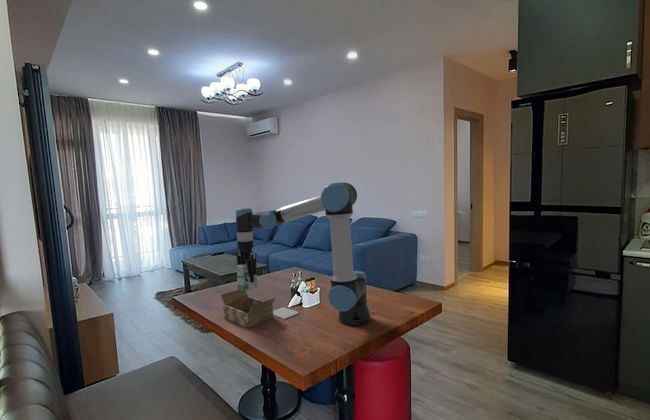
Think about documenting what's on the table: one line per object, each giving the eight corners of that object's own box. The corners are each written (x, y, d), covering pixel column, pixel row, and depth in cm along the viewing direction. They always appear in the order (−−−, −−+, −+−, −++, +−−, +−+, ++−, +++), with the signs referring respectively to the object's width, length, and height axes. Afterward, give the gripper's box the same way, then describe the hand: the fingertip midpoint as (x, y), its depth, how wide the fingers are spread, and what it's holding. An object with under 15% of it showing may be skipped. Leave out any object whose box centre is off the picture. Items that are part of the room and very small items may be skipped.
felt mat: (299, 313, 170) (299, 312, 170) (284, 319, 162) (284, 318, 162) (283, 308, 178) (283, 307, 178) (268, 313, 170) (268, 312, 170)
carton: (277, 319, 164) (276, 297, 163) (251, 329, 152) (250, 306, 151) (246, 307, 180) (245, 287, 179) (220, 316, 169) (219, 295, 168)
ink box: (243, 291, 160) (241, 266, 159) (237, 289, 164) (235, 265, 163) (258, 287, 167) (256, 263, 166) (252, 285, 170) (250, 262, 169)
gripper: (263, 240, 160) (265, 289, 162) (240, 237, 172) (243, 282, 174) (250, 243, 155) (252, 293, 156) (227, 239, 166) (230, 286, 168)
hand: (247, 287), depth 165 cm, fingers closed on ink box, 5 cm apart
